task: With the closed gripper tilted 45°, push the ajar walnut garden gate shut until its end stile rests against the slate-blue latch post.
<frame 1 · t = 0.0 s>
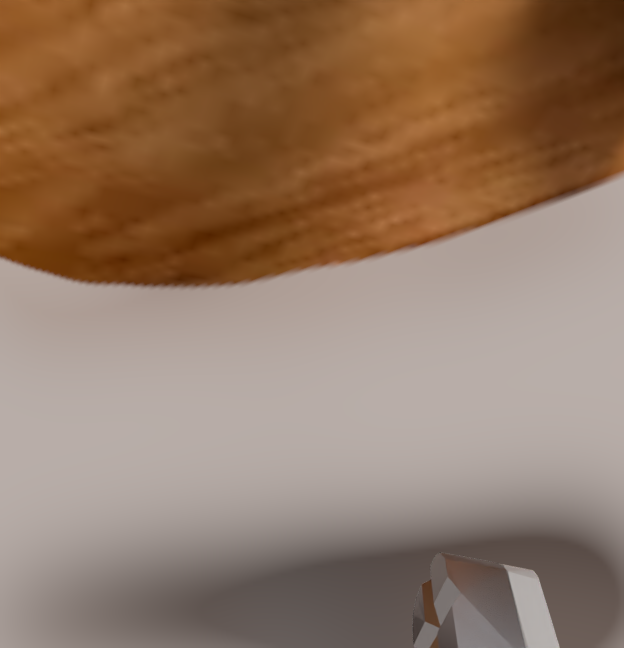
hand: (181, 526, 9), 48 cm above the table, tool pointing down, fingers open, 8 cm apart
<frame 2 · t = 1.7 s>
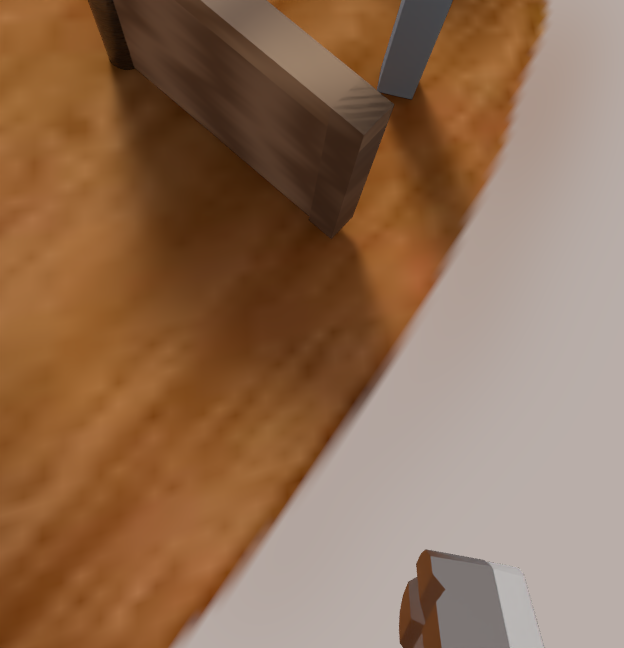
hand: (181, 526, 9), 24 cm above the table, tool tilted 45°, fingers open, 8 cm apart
latch post: (396, 82, 39), on the table
hinge post: (127, 53, 38), on the table
gate: (237, 83, 31), point 7 cm above the table, hinge at -30.0°
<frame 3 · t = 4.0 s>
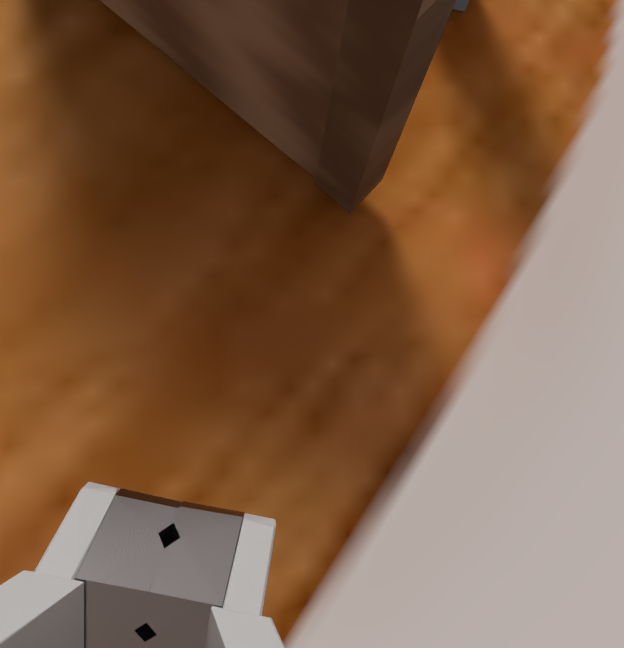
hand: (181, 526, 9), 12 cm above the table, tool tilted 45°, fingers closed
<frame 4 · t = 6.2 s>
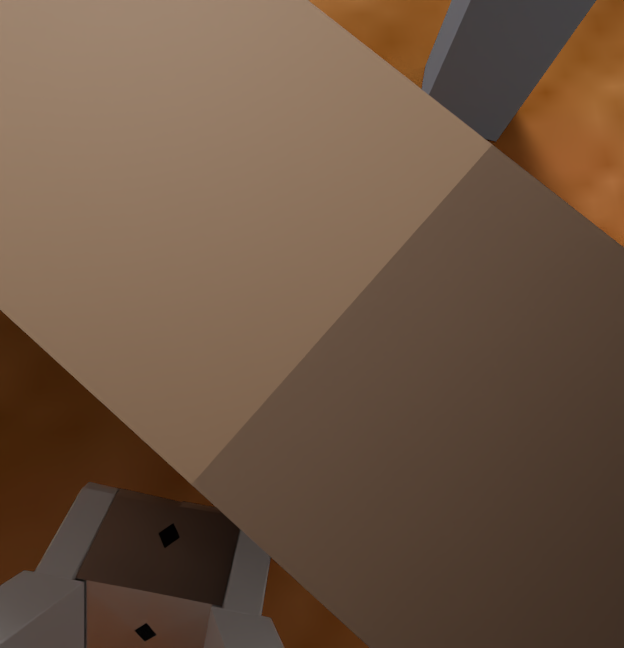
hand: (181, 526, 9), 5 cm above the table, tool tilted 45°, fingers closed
latch post: (460, 103, 17), on the table
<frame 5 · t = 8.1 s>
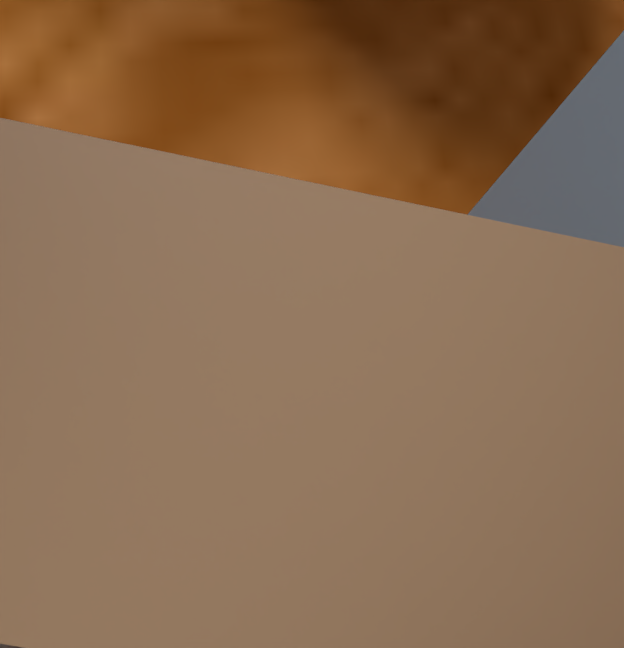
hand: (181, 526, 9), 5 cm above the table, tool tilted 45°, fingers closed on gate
latch post: (403, 382, 15), on the table
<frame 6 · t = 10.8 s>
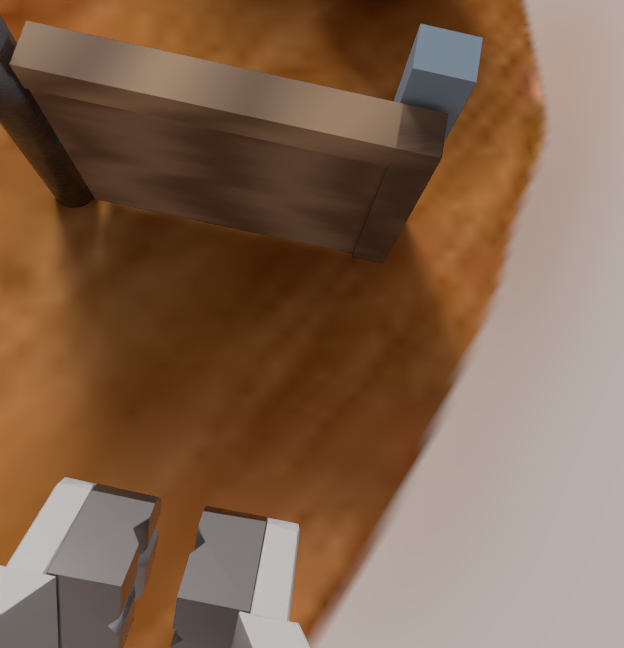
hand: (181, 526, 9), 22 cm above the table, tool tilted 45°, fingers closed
latch post: (377, 215, 35), on the table
hinge post: (75, 188, 34), on the table
gate: (239, 165, 28), point 7 cm above the table, hinge at 0.2°
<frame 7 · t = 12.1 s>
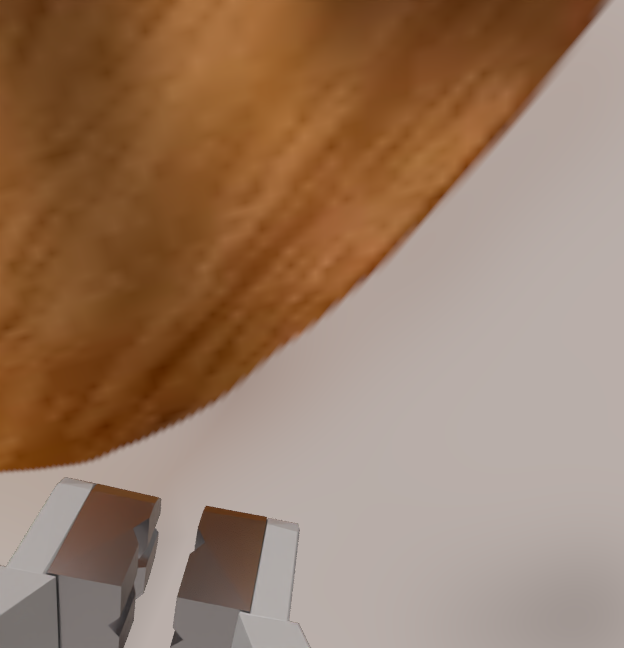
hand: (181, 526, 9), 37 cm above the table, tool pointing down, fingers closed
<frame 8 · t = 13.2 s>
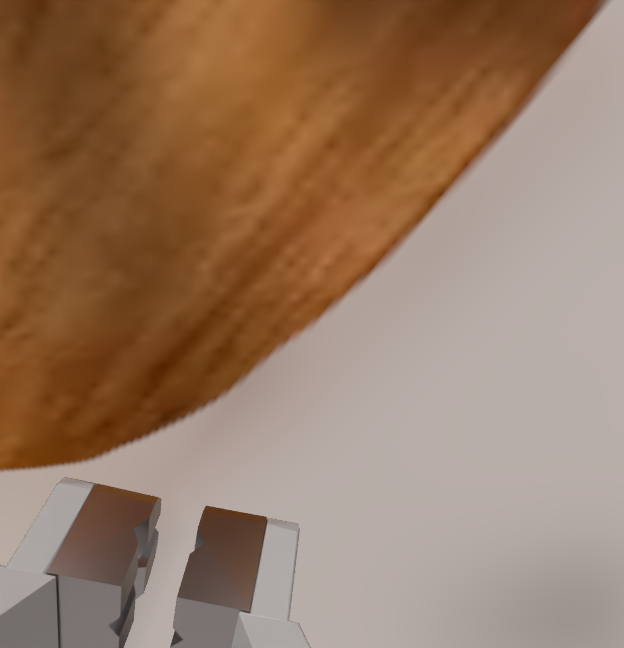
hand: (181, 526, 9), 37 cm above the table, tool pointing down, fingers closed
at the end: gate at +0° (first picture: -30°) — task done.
